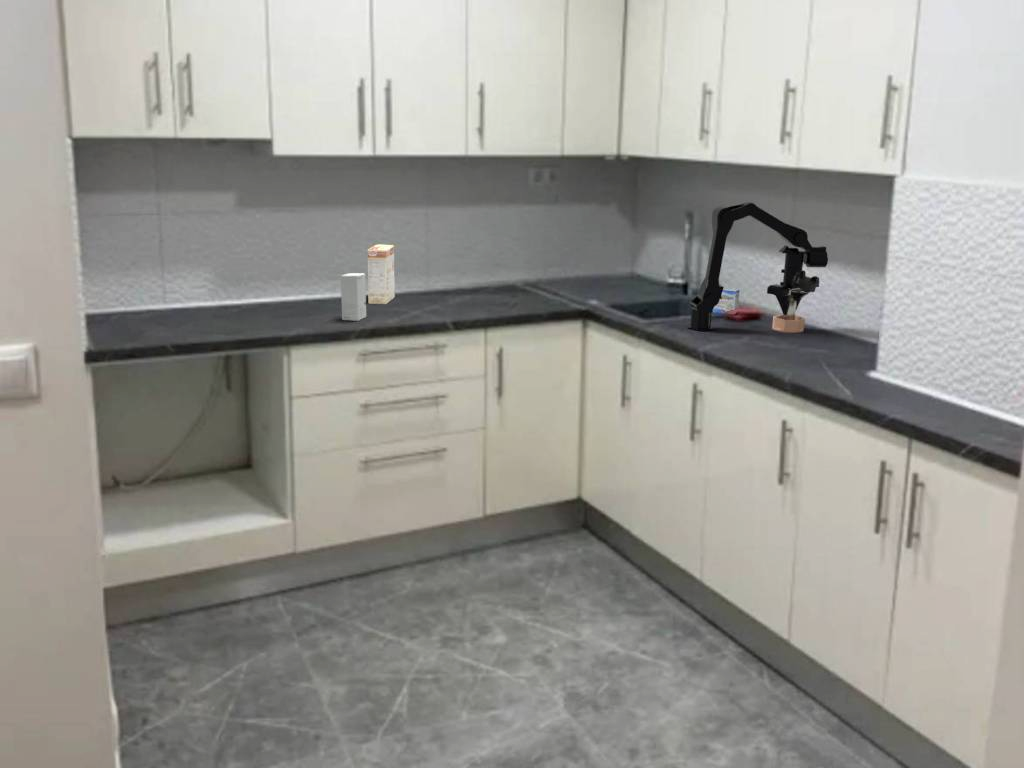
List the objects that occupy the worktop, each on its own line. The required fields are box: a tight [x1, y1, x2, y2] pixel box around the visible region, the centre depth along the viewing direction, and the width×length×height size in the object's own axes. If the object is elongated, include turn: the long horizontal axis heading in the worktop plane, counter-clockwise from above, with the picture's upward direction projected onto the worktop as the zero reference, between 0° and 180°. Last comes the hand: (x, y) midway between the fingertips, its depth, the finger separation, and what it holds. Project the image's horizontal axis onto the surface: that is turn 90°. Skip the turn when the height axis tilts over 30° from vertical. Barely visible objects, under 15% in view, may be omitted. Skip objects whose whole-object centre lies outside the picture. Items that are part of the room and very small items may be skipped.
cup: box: [771, 314, 806, 334], centre depth 342 cm, size 10×10×4 cm
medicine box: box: [712, 288, 740, 315], centre depth 368 cm, size 8×4×9 cm, turn 62°
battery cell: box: [782, 298, 797, 320], centre depth 341 cm, size 4×4×8 cm
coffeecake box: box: [367, 243, 396, 305], centre depth 376 cm, size 15×7×20 cm, turn 175°
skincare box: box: [340, 272, 367, 322], centre depth 342 cm, size 8×6×15 cm
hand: (789, 314), depth 341 cm, fingers closed on battery cell, 4 cm apart
